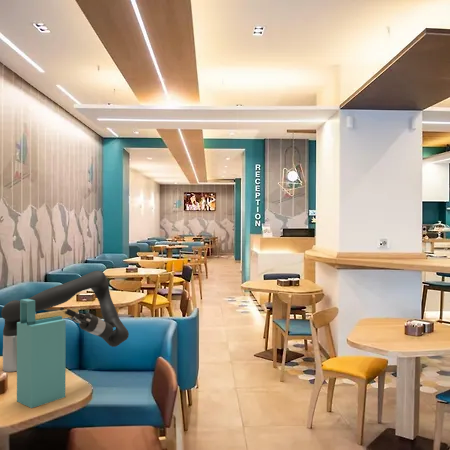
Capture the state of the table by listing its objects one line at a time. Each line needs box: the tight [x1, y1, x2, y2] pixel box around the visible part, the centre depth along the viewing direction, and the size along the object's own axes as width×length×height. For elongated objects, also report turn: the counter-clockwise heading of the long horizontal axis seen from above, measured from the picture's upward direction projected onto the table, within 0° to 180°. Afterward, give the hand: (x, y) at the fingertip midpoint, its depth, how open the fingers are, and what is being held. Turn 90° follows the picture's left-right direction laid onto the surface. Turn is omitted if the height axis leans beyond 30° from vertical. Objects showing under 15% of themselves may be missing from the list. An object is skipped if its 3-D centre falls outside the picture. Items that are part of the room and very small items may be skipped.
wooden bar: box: [35, 307, 79, 321], centre depth 198 cm, size 3×20×3 cm, turn 139°
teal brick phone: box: [16, 298, 67, 409], centre depth 193 cm, size 11×15×41 cm
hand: (63, 310), depth 201 cm, fingers open, 4 cm apart
